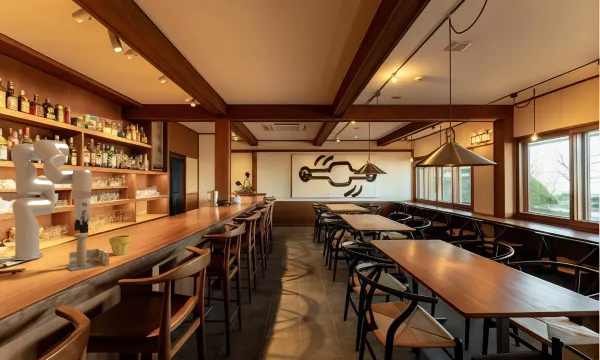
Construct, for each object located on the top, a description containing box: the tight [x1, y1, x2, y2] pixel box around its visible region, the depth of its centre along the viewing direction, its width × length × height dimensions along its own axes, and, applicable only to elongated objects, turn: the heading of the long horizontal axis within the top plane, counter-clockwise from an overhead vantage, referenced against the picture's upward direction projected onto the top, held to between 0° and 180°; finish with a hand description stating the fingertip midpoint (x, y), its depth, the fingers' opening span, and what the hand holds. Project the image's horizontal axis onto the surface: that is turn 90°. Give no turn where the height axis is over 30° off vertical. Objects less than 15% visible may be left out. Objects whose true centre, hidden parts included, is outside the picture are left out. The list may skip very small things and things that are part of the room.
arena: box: [68, 247, 110, 267], centre depth 148 cm, size 15×13×6 cm
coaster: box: [66, 261, 98, 272], centre depth 145 cm, size 10×10×1 cm
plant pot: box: [108, 234, 132, 256], centre depth 171 cm, size 10×10×10 cm
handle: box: [73, 232, 90, 266], centre depth 145 cm, size 5×6×15 cm
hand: (81, 231), depth 145 cm, fingers open, 9 cm apart
